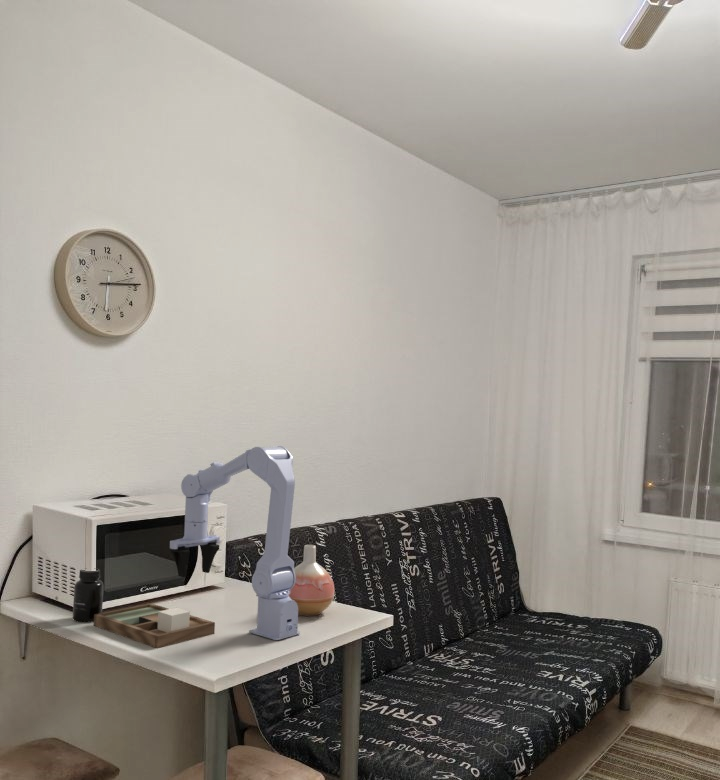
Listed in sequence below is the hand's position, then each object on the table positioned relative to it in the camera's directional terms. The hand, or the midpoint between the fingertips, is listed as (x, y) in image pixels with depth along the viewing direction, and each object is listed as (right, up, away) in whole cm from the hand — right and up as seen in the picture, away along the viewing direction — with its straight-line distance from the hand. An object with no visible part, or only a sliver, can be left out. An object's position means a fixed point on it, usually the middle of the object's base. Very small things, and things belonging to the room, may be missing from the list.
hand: (194, 574), depth 198 cm
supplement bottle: (-24, -9, -9) cm, 27 cm away
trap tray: (-6, -9, -16) cm, 19 cm away
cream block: (0, -7, -22) cm, 23 cm away
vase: (+29, -11, +4) cm, 31 cm away
